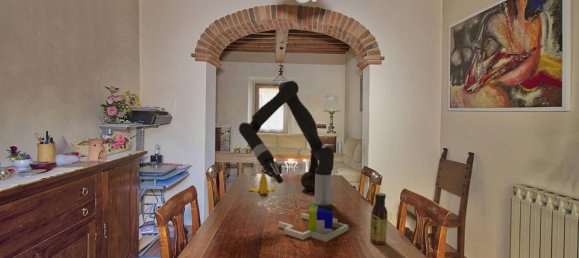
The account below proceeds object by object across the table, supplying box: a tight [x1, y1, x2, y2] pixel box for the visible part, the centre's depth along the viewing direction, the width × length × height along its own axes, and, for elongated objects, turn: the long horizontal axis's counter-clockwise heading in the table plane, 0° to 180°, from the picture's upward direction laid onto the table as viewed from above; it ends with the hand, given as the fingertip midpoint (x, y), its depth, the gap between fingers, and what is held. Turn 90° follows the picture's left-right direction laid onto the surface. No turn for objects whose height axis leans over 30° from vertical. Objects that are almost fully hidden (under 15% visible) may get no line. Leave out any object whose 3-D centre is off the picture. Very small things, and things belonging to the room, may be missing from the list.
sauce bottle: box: [369, 192, 388, 245], centre depth 129 cm, size 6×6×20 cm
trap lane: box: [278, 213, 349, 243], centre depth 143 cm, size 25×27×2 cm
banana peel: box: [247, 166, 277, 195], centre depth 210 cm, size 17×19×17 cm
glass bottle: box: [300, 149, 319, 192], centre depth 218 cm, size 18×18×28 cm
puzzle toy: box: [307, 204, 334, 235], centre depth 140 cm, size 10×10×10 cm
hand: (281, 182), depth 155 cm, fingers closed
